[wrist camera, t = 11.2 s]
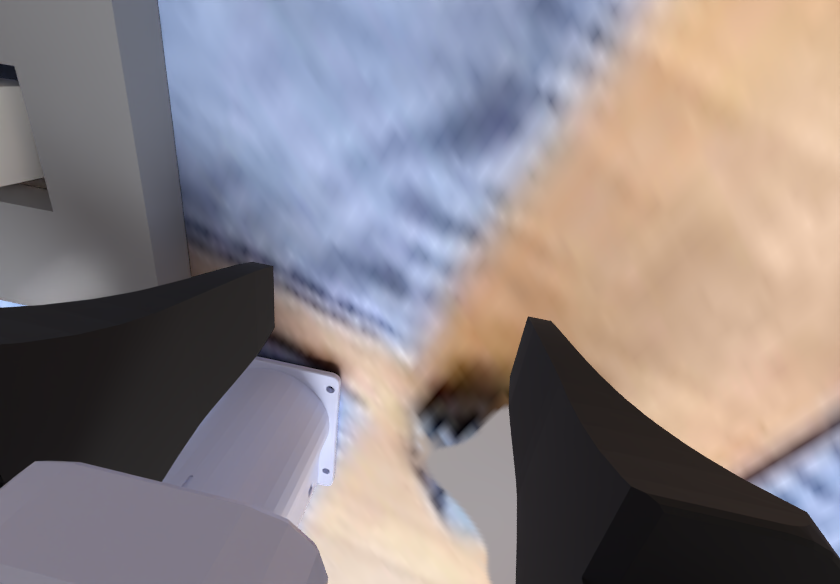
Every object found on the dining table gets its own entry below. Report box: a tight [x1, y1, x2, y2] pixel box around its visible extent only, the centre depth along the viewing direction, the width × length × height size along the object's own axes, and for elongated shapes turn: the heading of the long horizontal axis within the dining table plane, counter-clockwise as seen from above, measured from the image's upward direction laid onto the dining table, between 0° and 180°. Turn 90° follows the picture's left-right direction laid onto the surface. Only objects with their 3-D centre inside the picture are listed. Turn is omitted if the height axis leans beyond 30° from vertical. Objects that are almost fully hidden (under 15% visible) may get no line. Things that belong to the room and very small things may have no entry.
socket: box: [0, 0, 191, 306], centre depth 20 cm, size 18×16×2 cm
